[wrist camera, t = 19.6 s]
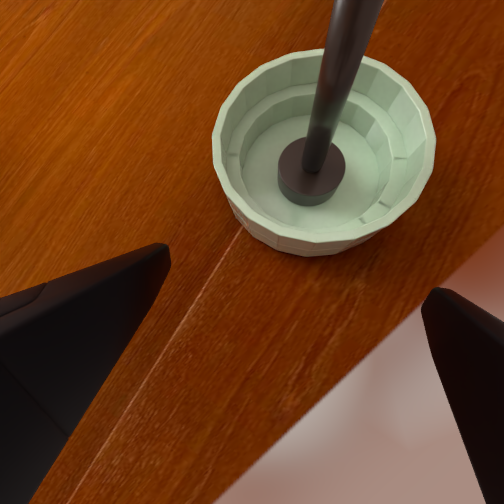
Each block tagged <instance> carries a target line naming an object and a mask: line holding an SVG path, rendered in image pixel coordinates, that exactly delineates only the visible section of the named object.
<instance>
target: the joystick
mask: <svg viewBox="0 0 504 504" xmlns="http://www.w3.org/2000/svg"><path fill="white" fill-rule="evenodd" d="M383 1H384V0H334V4H333V9H332V14H331V19H330V24H329V29H328V34H327V38H326V43H325V48H324V53H323V58H322V63H321V68H320V73H319V77H318V82H317V87H316V92H315V97H314V102H313V107H312V112H311V116H310V121H309V126H308V131H307V136H306V137H302V138H299V139H297V140H295V141H293V142H291V143H290V144H289V145H288V146H287V147H286V148H285V149H284V150H283V152H282V153H281V155H280V158H279V161H278V176H277V181H278V186H279V189H280V191H281V192H282V194H283V195H284V196H285V197H286V198H287V199H288V200H289V201H291V202H292V203H294V204H297V205H300V206H316V205H320V204H322V203H324V202H326V201H327V200H329V199H330V198H331V197H332V196H333V195H334V193H335V192H336V190H337V188H338V186H339V185H340V183H341V181H342V179H343V177H344V174H345V169H346V163H345V158H344V156H343V154H342V152H341V150H340V149H339V148H338V147H337V146H336V145H335V144H334V143H333V142H332V140H333V137H334V134H335V131H336V129H337V126H338V123H339V121H340V118H341V115H342V112H343V110H344V107H345V104H346V102H347V99H348V96H349V93H350V91H351V88H352V85H353V83H354V80H355V77H356V74H357V72H358V69H359V66H360V64H361V61H362V58H363V56H364V53H365V50H366V47H367V45H368V42H369V39H370V37H371V34H372V31H373V28H374V26H375V23H376V20H377V18H378V15H379V12H380V9H381V7H382V4H383Z"/></svg>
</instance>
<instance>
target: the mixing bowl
mask: <svg viewBox="0 0 504 504" xmlns="http://www.w3.org/2000/svg"><path fill="white" fill-rule="evenodd" d="M323 53H324V49H316V50H309V51H302V52H295V53H290V54H287V55H285V56H282V57H280V58H278V59H275V60H273V61H270V62H268V63H266V64H263V65H261V66H260V67H258V68H257V69H256V70H254V71H253V72H252V73H251V74H249V75H248V76H247V77H245V78H244V79H243V80H242V81H240V82H239V83H238V84H237V85H236V87H235V88H234V89H233V91H232V92H231V94H230V95H229V96H228V98H227V99H226V101H225V102H224V103H223V105H222V106H221V108H220V111H219V114H218V118H217V121H216V124H215V127H214V131H213V134H212V149H213V165H214V168H215V170H216V173H217V175H218V178H219V180H220V182H221V185H222V187H223V190H224V192H225V194H226V197H227V199H228V201H229V203H230V206H231V208H232V210H233V213H234V215H235V217H236V218H237V219H238V220H239V222H240V223H241V224H242V225H243V226H244V227H245V228H246V229H247V230H248V232H249V233H250V234H251V235H252V236H253V237H255V238H256V239H258V240H260V241H262V242H263V243H265V244H267V245H269V246H270V247H272V248H274V249H276V250H278V251H282V252H286V253H291V254H295V255H300V256H306V257H310V256H321V255H333V254H337V253H340V252H342V251H344V250H347V249H349V248H352V247H354V246H356V245H359V244H361V243H363V242H365V241H366V240H368V239H369V238H371V237H372V236H374V235H375V234H377V233H378V232H380V231H381V230H383V229H384V228H386V227H387V226H389V225H390V224H391V223H393V222H394V221H395V220H396V219H397V218H398V217H399V216H400V215H402V214H403V213H404V212H405V211H406V210H407V209H408V208H409V207H411V206H412V205H413V204H414V203H415V202H416V201H417V200H418V198H419V196H420V194H421V192H422V190H423V188H424V186H425V184H426V183H427V181H428V179H429V177H430V175H431V173H432V170H433V164H434V155H435V146H436V136H435V132H434V128H433V125H432V121H431V117H430V114H429V110H428V109H427V106H426V105H425V103H424V102H423V101H422V99H421V98H420V96H419V95H418V94H417V92H416V91H415V89H414V88H413V87H412V85H411V84H410V83H409V82H408V81H407V80H406V79H404V78H403V77H402V76H400V75H399V74H398V73H396V72H395V71H394V70H392V69H391V68H390V67H388V66H387V65H386V64H383V63H381V62H379V61H376V60H373V59H371V58H368V57H366V56H363V58H362V61H361V64H360V66H359V69H358V72H357V74H356V77H355V80H354V83H353V85H352V88H351V91H350V93H349V96H348V99H347V102H346V104H345V107H344V110H343V112H342V115H341V118H340V121H339V123H338V126H337V129H336V131H335V134H334V137H333V140H332V142H333V143H334V144H335V145H336V146H337V147H338V148H339V149H340V150H341V152H342V154H343V156H344V158H345V163H346V169H345V174H344V177H343V179H342V181H341V183H340V185H339V186H338V188H337V190H336V192H335V193H334V195H333V196H332V197H331V198H330V199H329V200H327V201H326V202H324V203H322V204H320V205H316V206H300V205H297V204H294V203H292V202H291V201H289V200H288V199H287V198H286V197H285V196H284V195H283V194H282V192H281V191H280V189H279V186H278V181H277V176H278V161H279V158H280V155H281V153H282V152H283V150H284V149H285V148H286V147H287V146H288V145H289V144H290V143H291V142H293V141H295V140H297V139H299V138H302V137H306V136H307V131H308V126H309V121H310V116H311V112H312V107H313V102H314V97H315V92H316V87H317V82H318V77H319V73H320V68H321V63H322V58H323Z"/></svg>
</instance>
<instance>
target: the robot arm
mask: <svg viewBox="0 0 504 504" xmlns="http://www.w3.org/2000/svg"><path fill="white" fill-rule="evenodd" d="M170 268H171V259H170V252H169V247H168V245H167V244H162V243H154V244H151V245H148V246H145V247H142V248H140V249H137V250H134V251H131V252H129V253H126V254H123V255H120V256H117V257H115V258H112V259H109V260H106V261H104V262H101V263H98V264H95V265H92V266H90V267H87V268H84V269H81V270H79V271H76V272H73V273H70V274H67V275H65V276H62V277H59V278H56V279H54V280H51V281H48V283H42V284H40V285H37V286H34V287H31V288H28V289H25V290H23V291H20V292H17V293H14V294H11V295H8V296H5V297H2V298H0V504H28V503H29V501H30V500H31V498H32V497H33V495H34V493H35V492H36V490H37V489H38V487H39V485H40V484H41V482H42V481H43V479H44V478H45V476H46V474H47V473H48V471H49V470H50V468H51V466H52V465H53V463H54V462H55V460H56V458H57V457H58V455H59V454H60V452H61V450H62V449H63V447H64V446H65V444H66V442H67V441H68V437H70V436H71V434H72V433H73V431H74V429H75V428H76V426H77V425H78V423H79V421H80V420H81V418H82V417H83V415H84V413H85V412H86V410H87V409H88V407H89V405H90V404H91V402H92V401H93V399H94V397H95V396H96V394H97V393H98V391H99V390H100V388H101V386H102V385H103V383H104V382H105V380H106V378H107V377H108V375H109V374H110V372H111V370H112V369H113V367H114V366H115V364H116V362H117V361H118V359H119V358H120V356H121V354H122V353H123V351H124V350H125V348H126V346H127V345H128V343H129V342H130V340H131V339H132V337H133V335H134V334H135V332H136V331H137V329H138V327H139V326H140V324H141V323H142V321H143V319H144V318H145V316H146V315H147V313H148V311H149V310H150V308H151V307H152V305H153V303H154V301H155V299H156V297H157V295H158V293H159V291H160V289H161V287H162V285H163V283H164V281H165V279H166V277H167V275H168V272H169V270H170ZM421 314H422V318H423V322H424V326H425V330H426V335H427V339H428V343H429V347H430V351H431V354H432V357H433V360H434V363H435V366H436V369H437V372H438V374H439V377H440V380H441V382H442V385H443V388H444V391H445V393H446V396H447V399H448V402H449V404H450V407H451V410H452V412H453V415H454V418H455V421H456V423H457V426H458V429H459V431H460V434H461V437H462V440H463V442H464V445H465V448H466V450H467V453H468V456H469V459H470V461H471V464H472V467H473V469H474V472H475V475H476V478H477V480H478V483H479V486H480V488H481V491H482V494H483V497H484V499H485V502H486V504H504V322H502V321H501V320H499V319H498V318H496V317H495V316H493V315H491V314H490V313H488V312H487V311H485V310H483V309H482V308H480V307H478V306H477V305H475V304H474V303H472V302H470V301H469V300H467V299H466V298H464V297H462V296H461V295H459V294H457V293H456V292H454V291H453V290H450V289H446V288H440V287H436V288H433V289H432V290H431V292H430V293H429V295H428V296H427V298H426V300H425V301H424V303H423V304H422V307H421Z"/></svg>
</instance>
